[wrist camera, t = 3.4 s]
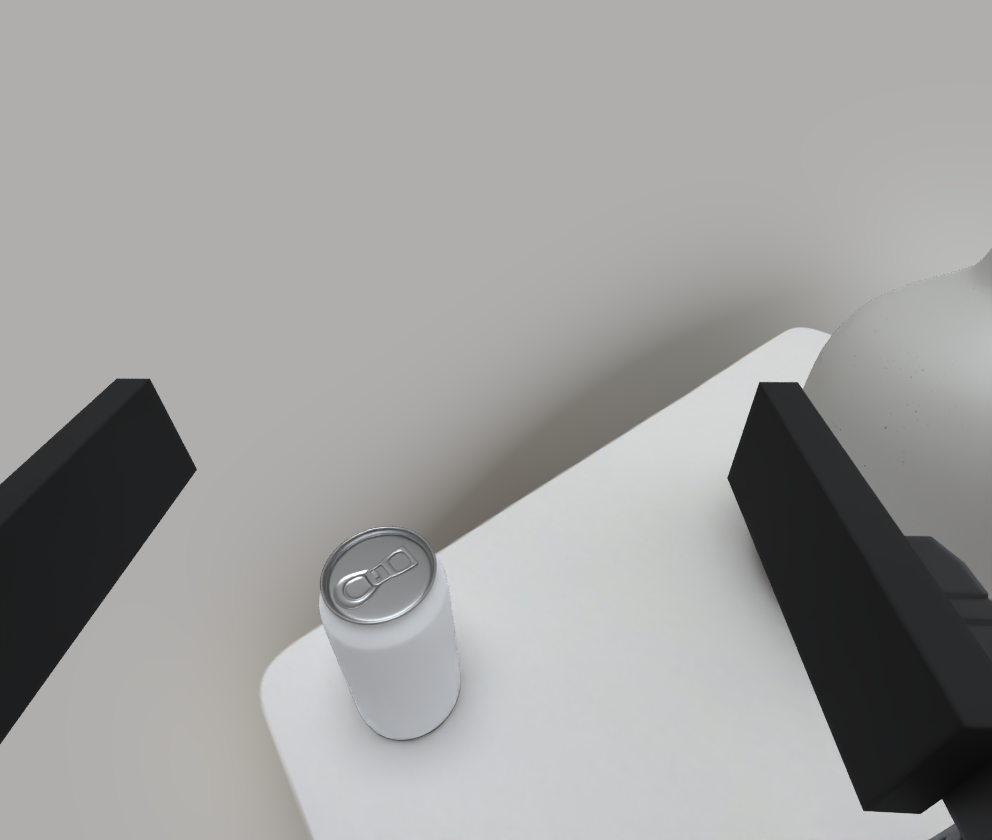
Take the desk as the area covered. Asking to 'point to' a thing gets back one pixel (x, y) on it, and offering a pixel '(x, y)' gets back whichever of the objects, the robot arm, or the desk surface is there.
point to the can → (392, 630)
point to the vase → (920, 407)
